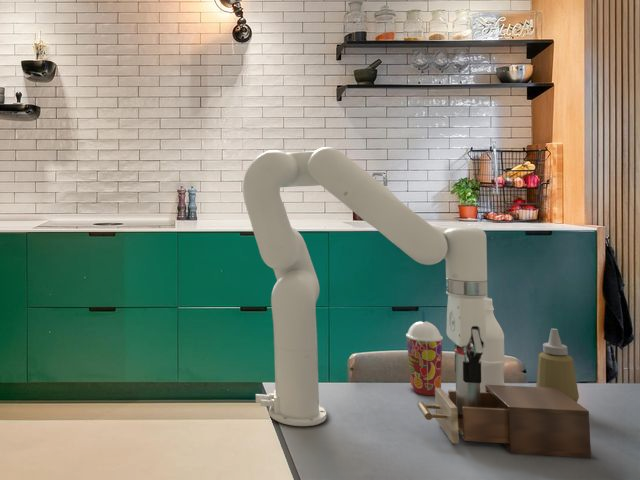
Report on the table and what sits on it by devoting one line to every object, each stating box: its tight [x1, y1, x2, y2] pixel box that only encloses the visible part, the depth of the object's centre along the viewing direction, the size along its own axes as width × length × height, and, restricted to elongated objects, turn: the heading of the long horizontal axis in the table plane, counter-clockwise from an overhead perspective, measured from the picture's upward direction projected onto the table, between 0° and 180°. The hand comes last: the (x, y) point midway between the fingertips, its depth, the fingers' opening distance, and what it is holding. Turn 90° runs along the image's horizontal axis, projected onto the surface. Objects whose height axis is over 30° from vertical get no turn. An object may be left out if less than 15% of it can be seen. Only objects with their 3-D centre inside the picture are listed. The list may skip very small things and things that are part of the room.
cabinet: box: [485, 385, 592, 459], centre depth 112 cm, size 14×13×9 cm
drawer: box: [417, 387, 509, 444], centre depth 114 cm, size 17×11×7 cm
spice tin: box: [454, 348, 481, 415], centre depth 115 cm, size 5×5×12 cm
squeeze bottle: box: [535, 328, 580, 403], centre depth 128 cm, size 8×8×18 cm
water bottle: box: [471, 297, 506, 392], centre depth 129 cm, size 7×7×25 cm
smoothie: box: [405, 309, 443, 396], centre depth 140 cm, size 8×8×20 cm
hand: (467, 377), depth 115 cm, fingers closed on spice tin, 4 cm apart
